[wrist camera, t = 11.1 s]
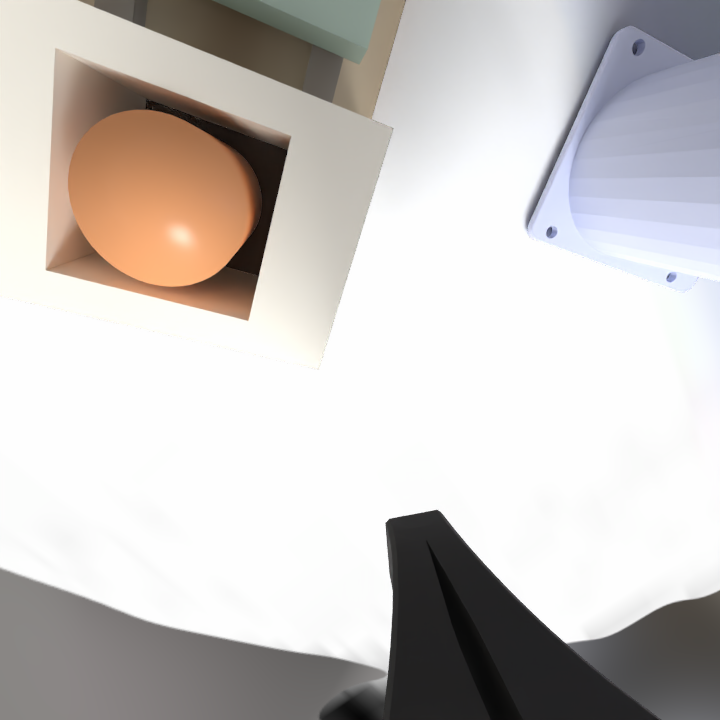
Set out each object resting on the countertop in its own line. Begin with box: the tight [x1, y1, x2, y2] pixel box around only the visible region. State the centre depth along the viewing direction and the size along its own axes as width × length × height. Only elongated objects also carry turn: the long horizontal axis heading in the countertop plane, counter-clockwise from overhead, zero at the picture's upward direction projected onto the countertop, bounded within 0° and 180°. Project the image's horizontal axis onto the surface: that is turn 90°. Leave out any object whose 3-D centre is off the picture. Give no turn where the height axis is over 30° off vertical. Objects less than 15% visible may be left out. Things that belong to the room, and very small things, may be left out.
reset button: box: [68, 110, 262, 287], centre depth 12 cm, size 4×4×6 cm
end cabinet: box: [0, 0, 393, 369], centre depth 13 cm, size 10×7×6 cm
